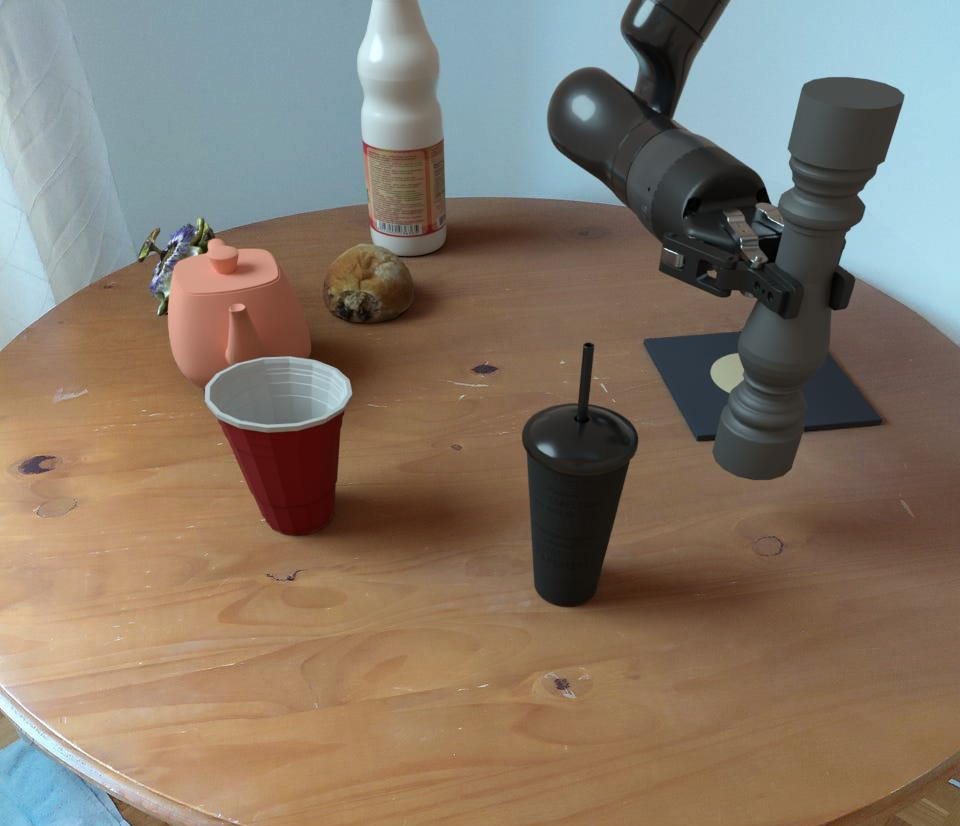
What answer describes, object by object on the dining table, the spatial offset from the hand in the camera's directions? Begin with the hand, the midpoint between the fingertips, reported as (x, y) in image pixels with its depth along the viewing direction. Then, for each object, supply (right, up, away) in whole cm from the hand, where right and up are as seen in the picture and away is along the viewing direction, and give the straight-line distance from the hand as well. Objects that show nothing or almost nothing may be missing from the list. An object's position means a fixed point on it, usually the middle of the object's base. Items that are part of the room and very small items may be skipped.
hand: (821, 300), depth 57 cm
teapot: (-45, +5, +33) cm, 56 cm away
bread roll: (-34, +16, +43) cm, 57 cm away
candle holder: (-1, -8, +12) cm, 14 cm away
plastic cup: (-37, -11, +18) cm, 42 cm away
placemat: (+6, +4, +32) cm, 33 cm away
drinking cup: (-15, -18, +12) cm, 26 cm away
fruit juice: (-31, +28, +54) cm, 68 cm away
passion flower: (-52, +14, +42) cm, 68 cm away
